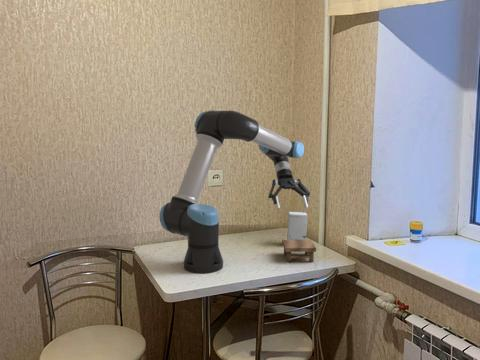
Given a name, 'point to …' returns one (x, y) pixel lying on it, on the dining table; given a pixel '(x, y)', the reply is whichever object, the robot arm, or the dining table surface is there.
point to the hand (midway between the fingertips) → (292, 209)
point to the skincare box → (297, 226)
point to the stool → (299, 249)
